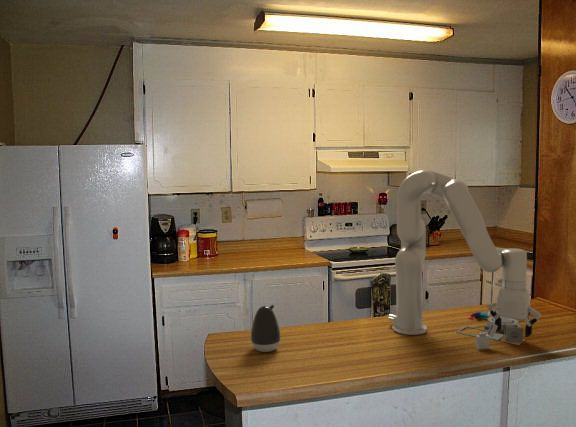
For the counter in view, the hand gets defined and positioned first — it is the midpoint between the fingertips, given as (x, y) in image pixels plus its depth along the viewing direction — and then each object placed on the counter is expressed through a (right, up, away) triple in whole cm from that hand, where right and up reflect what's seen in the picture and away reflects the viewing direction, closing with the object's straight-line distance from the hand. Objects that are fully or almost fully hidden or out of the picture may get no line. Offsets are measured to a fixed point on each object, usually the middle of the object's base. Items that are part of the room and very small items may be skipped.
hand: (512, 333), depth 169 cm
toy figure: (+1, -1, +24) cm, 24 cm away
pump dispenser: (-86, -5, -2) cm, 86 cm away
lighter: (-11, -4, -5) cm, 13 cm away
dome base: (+2, -1, +13) cm, 13 cm away
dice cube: (0, -3, +1) cm, 3 cm away
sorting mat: (-6, -2, +6) cm, 8 cm away
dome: (+2, 0, +13) cm, 13 cm away
